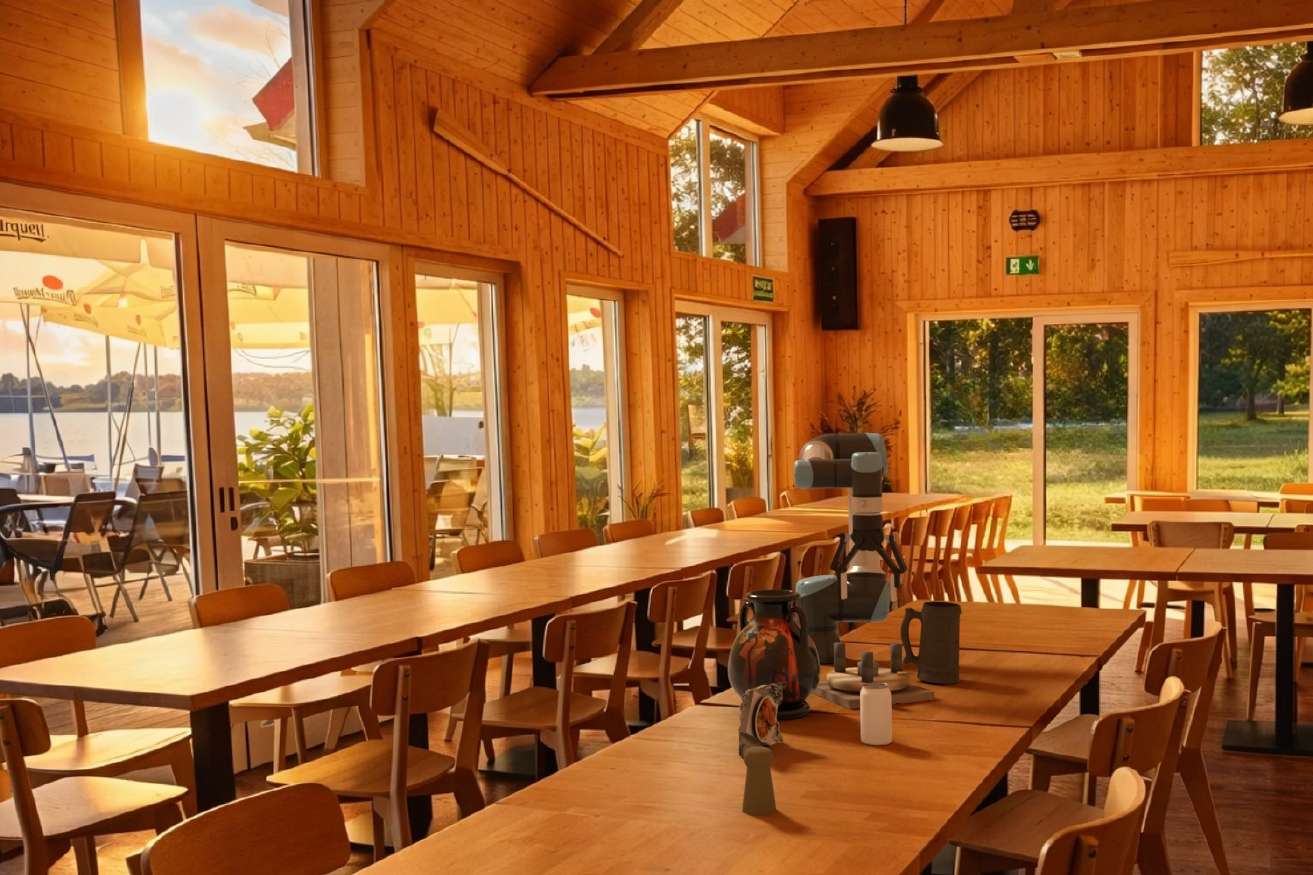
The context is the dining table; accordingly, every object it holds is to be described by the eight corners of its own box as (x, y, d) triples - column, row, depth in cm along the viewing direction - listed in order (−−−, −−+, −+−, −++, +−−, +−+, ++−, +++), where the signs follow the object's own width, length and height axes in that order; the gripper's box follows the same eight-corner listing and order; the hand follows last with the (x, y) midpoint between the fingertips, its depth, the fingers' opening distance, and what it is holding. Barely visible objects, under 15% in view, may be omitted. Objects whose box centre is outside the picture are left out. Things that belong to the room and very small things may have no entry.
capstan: (812, 679, 324) (812, 643, 324) (884, 672, 331) (883, 637, 331) (851, 694, 305) (850, 656, 305) (926, 687, 312) (925, 649, 312)
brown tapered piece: (739, 805, 230) (738, 744, 230) (773, 804, 230) (772, 742, 230) (744, 816, 224) (743, 752, 224) (779, 814, 224) (778, 751, 224)
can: (894, 739, 274) (893, 682, 274) (889, 746, 268) (888, 689, 268) (863, 737, 277) (862, 681, 276) (858, 744, 270) (857, 687, 270)
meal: (757, 759, 261) (756, 694, 260) (738, 757, 263) (737, 692, 263) (789, 743, 273) (788, 681, 273) (771, 740, 276) (770, 679, 275)
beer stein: (959, 676, 338) (958, 600, 338) (965, 685, 327) (964, 606, 327) (899, 676, 340) (898, 600, 339) (903, 685, 329) (902, 606, 329)
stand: (805, 690, 325) (804, 680, 325) (885, 682, 333) (885, 673, 333) (849, 708, 303) (849, 699, 303) (934, 699, 311) (934, 690, 311)
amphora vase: (709, 714, 300) (707, 594, 300) (766, 698, 316) (764, 584, 316) (783, 728, 286) (781, 602, 285) (840, 711, 301) (838, 591, 301)
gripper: (816, 514, 327) (817, 599, 327) (911, 515, 317) (913, 603, 317) (825, 511, 334) (826, 595, 334) (918, 513, 324) (920, 599, 324)
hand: (868, 599), depth 326 cm, fingers open, 12 cm apart
